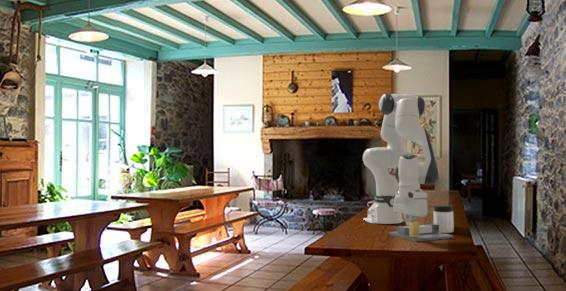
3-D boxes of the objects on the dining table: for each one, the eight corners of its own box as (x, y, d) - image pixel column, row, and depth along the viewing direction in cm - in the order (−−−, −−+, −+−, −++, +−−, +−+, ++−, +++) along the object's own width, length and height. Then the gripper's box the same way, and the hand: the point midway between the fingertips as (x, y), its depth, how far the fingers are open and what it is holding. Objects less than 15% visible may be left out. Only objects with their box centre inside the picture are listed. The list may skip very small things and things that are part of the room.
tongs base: (397, 233, 239) (397, 226, 239) (430, 231, 245) (430, 223, 245) (405, 235, 233) (405, 228, 234) (438, 232, 240) (438, 225, 240)
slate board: (389, 234, 244) (389, 232, 244) (424, 231, 251) (424, 229, 251) (415, 241, 225) (415, 238, 225) (453, 238, 232) (453, 235, 232)
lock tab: (409, 236, 230) (408, 221, 230) (415, 235, 231) (415, 221, 231) (413, 237, 227) (413, 222, 227) (419, 236, 228) (419, 222, 228)
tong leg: (415, 234, 235) (415, 226, 235) (412, 233, 238) (412, 225, 238) (439, 232, 239) (438, 225, 239) (435, 231, 242) (435, 224, 242)
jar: (444, 233, 245) (443, 206, 245) (429, 231, 252) (429, 205, 252) (457, 231, 250) (456, 205, 250) (443, 229, 257) (442, 204, 257)
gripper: (389, 191, 240) (390, 223, 240) (416, 194, 221) (417, 229, 221) (401, 191, 243) (402, 222, 243) (430, 194, 224) (430, 228, 223)
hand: (409, 225), depth 232 cm, fingers closed
